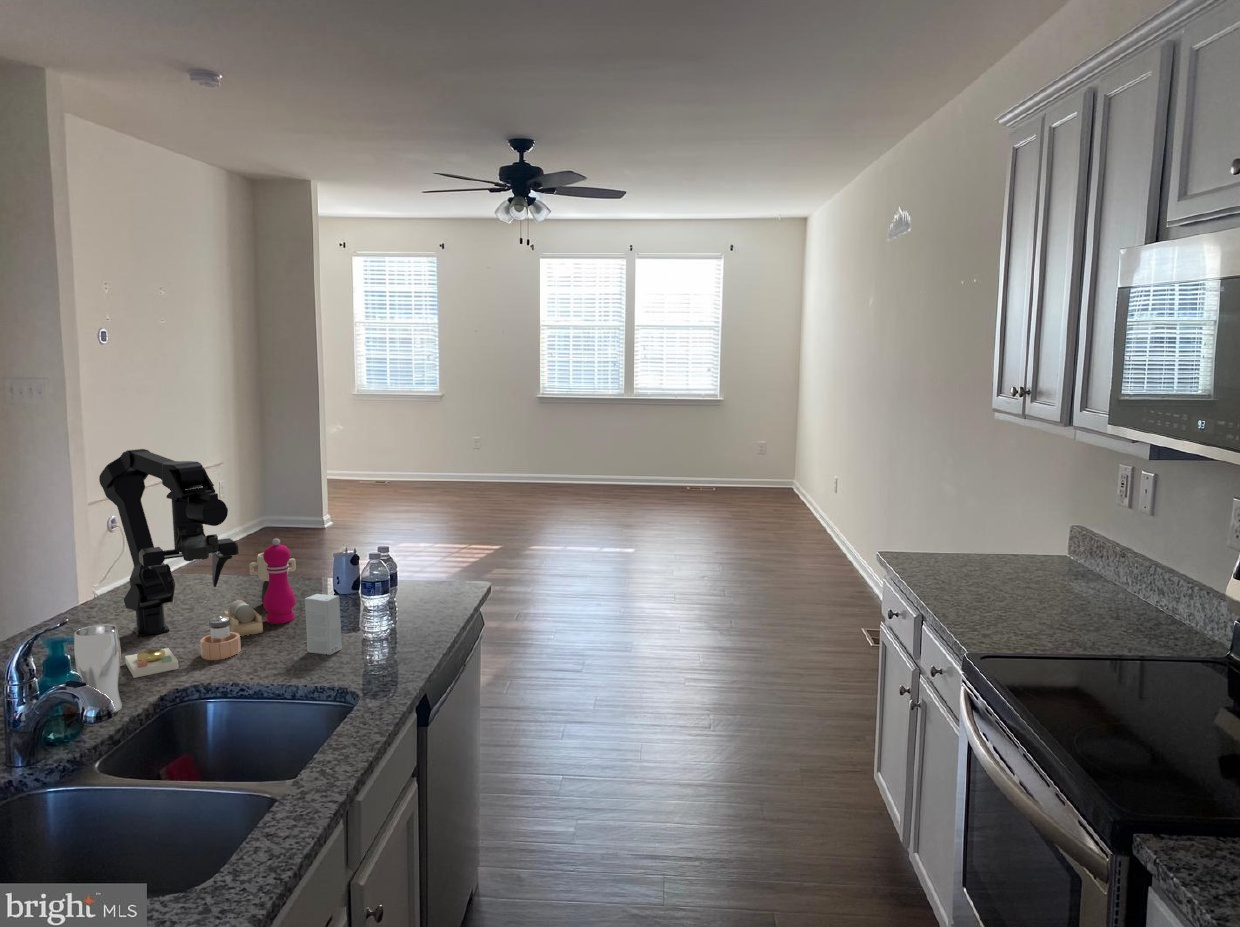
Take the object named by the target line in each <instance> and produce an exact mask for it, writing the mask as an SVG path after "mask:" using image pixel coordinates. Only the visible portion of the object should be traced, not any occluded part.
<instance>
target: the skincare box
mask: <svg viewBox="0 0 1240 927" xmlns="http://www.w3.org/2000/svg"><path fill="white" fill-rule="evenodd" d="M304 608H305V610H304V611H305V612H304V614H305V626H306V627H305V629H306V648H307V653H310V654H311V653H312V654H319V655H320V654H321V655H326V654H327V655H328V656H329V655H330V656H331V655H333V654H334V653H336V652H338V651H340V650H342V648H343V645H342V626H341V609H340V608H341V604H340V596H339V595H333V594H322V593H315V594H312V595H310V596H308V597H305V598H304ZM327 655H326V656H327Z"/></svg>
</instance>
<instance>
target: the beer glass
mask: <svg viewBox="0 0 1240 927" xmlns="http://www.w3.org/2000/svg"><path fill="white" fill-rule="evenodd" d="M73 634H74V644H73V645H74V647H73V648H74V662H75V667H76V671H77V674H78V677H79V676H80V677H81V678H82V680H84V681H85V682H86V683H87V685H89V686H91V687H94V688H95V689H97V690H99V691H100V692H101V693H103V694H106V695H107V696H108V697H109V698H110V699H111V700H112V701H113V703H114V707H115V709H116V712H115V713H117V712H119V711H120V710H121V709H122V708H123V703H122V700H121V697H120V693H119V679H120V678H119V677H120V670H121V662H122V661H121V659H122V654H121V653H122V652H121V651H122V649H121V641H120V636H119V630H118V626H117V625H115V624H111V623H109V624H108V623H107V624H102V623H101V624H93V625H89V626H85V627H82V628H79V629H78V630H76V631H75V632H73Z"/></svg>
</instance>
